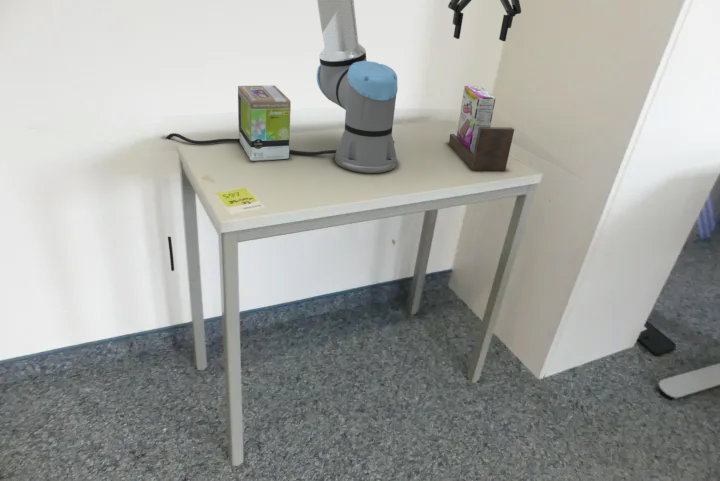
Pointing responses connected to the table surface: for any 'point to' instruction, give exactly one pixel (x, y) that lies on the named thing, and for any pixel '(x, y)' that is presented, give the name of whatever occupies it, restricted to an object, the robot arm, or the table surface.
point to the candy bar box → (474, 114)
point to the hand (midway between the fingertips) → (479, 39)
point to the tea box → (264, 122)
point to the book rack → (486, 149)
